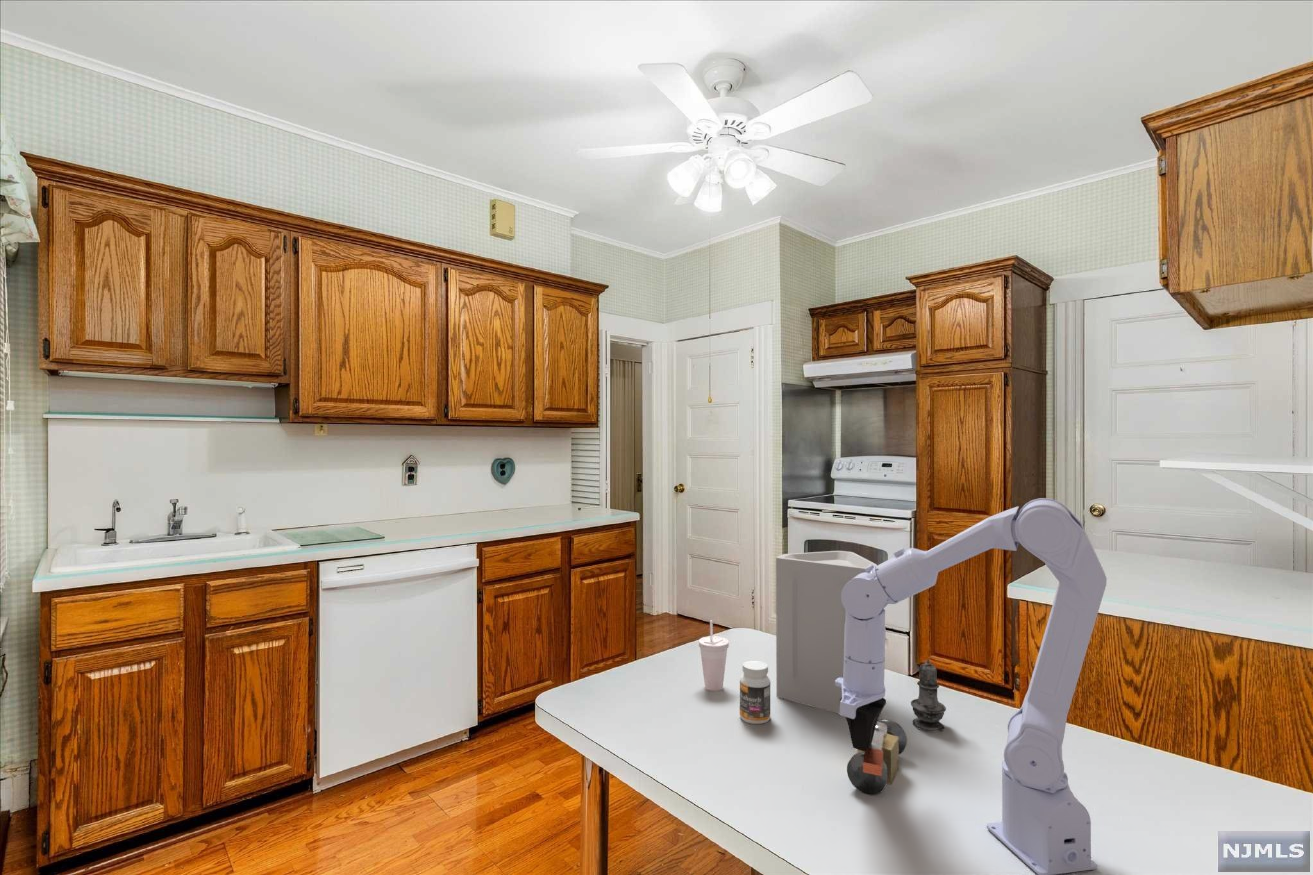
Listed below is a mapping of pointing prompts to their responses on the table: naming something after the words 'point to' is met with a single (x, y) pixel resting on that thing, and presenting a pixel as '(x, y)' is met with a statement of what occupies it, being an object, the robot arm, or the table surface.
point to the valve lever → (875, 751)
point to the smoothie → (713, 659)
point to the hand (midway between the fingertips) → (861, 747)
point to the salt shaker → (928, 701)
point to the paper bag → (812, 624)
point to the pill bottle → (755, 693)
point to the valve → (891, 751)
